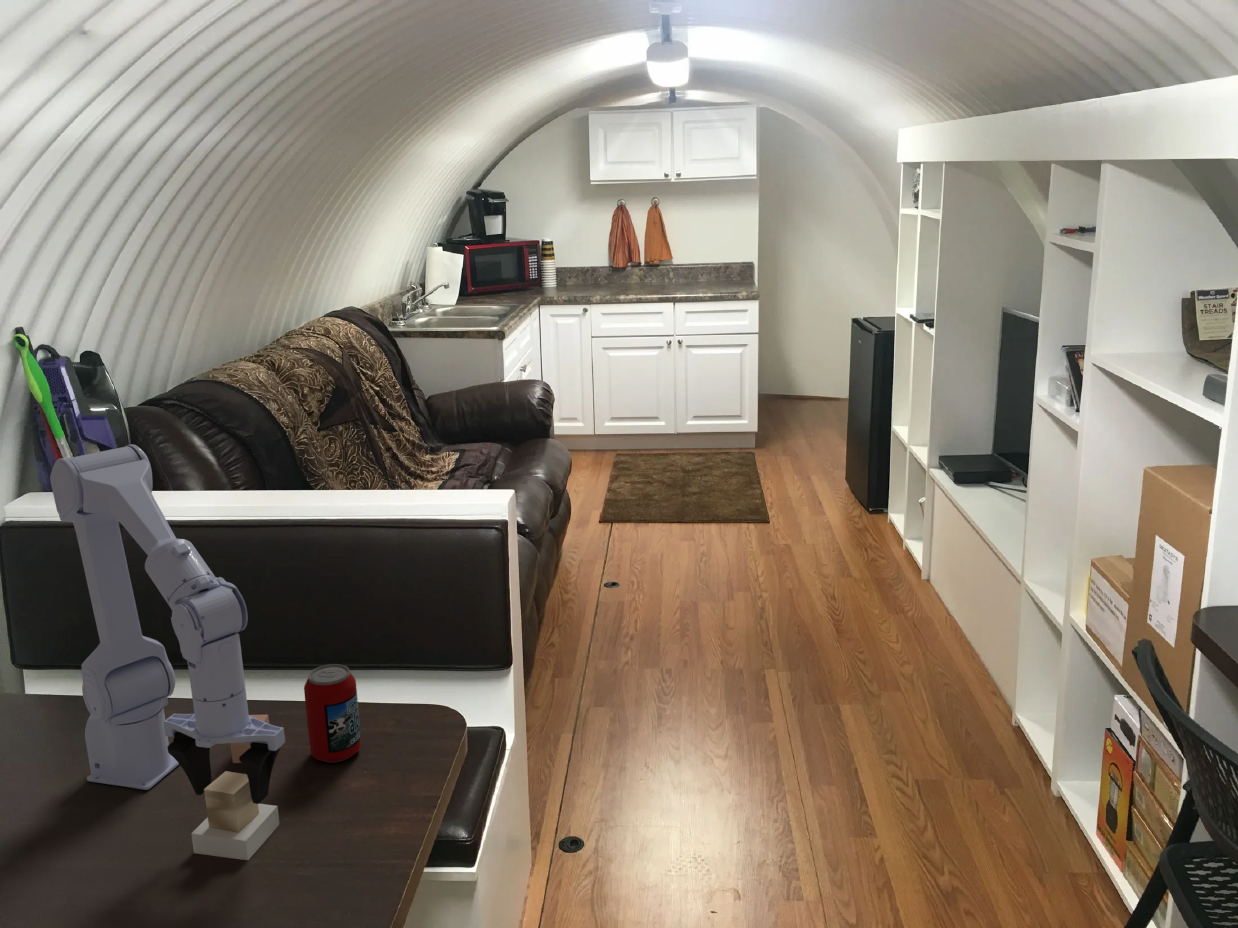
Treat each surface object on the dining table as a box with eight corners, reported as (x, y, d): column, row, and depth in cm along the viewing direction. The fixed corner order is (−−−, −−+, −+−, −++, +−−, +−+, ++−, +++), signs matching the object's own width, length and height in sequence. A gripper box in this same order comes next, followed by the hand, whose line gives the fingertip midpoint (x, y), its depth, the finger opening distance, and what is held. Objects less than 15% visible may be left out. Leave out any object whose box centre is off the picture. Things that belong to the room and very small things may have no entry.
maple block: (209, 826, 122) (203, 788, 120) (230, 807, 125) (225, 770, 124) (238, 832, 121) (233, 793, 119) (259, 812, 124) (254, 775, 123)
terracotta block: (232, 763, 140) (228, 729, 139) (242, 747, 144) (238, 714, 142) (262, 762, 140) (258, 729, 139) (271, 746, 144) (268, 714, 142)
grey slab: (194, 855, 121) (191, 833, 121) (227, 820, 128) (225, 799, 127) (248, 863, 120) (245, 840, 119) (279, 827, 127) (277, 805, 126)
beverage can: (348, 768, 138) (341, 686, 135) (301, 763, 140) (293, 682, 136) (370, 742, 145) (363, 663, 141) (325, 737, 146) (317, 659, 143)
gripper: (140, 699, 117) (156, 805, 120) (254, 713, 113) (267, 822, 117) (180, 671, 123) (194, 772, 127) (290, 684, 120) (301, 787, 123)
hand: (231, 794), depth 122 cm, fingers open, 7 cm apart
